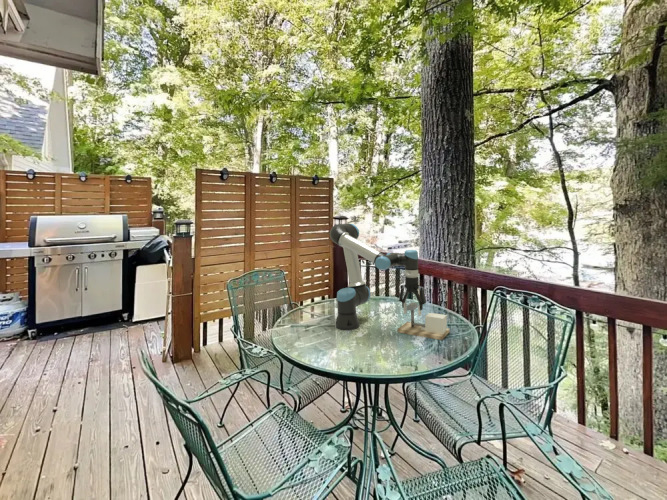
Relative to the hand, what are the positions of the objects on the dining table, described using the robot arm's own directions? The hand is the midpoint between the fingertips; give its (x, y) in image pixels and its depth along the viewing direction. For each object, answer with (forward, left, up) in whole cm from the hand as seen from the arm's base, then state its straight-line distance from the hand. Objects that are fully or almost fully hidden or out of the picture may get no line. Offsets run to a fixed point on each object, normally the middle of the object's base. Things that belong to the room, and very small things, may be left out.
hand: (412, 314), depth 199 cm
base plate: (+6, 0, -10) cm, 12 cm away
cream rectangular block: (+13, 0, -8) cm, 15 cm away
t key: (+3, 0, -7) cm, 8 cm away
